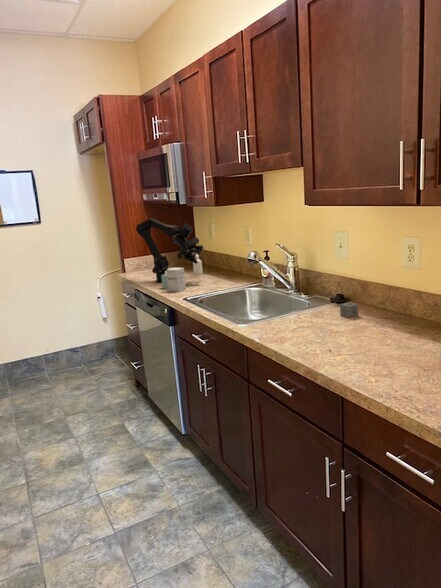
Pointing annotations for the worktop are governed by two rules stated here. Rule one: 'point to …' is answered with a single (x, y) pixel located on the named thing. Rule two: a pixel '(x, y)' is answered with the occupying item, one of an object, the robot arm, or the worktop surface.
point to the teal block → (164, 281)
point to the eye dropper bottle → (197, 265)
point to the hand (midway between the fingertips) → (199, 262)
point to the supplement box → (176, 279)
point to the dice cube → (349, 309)
